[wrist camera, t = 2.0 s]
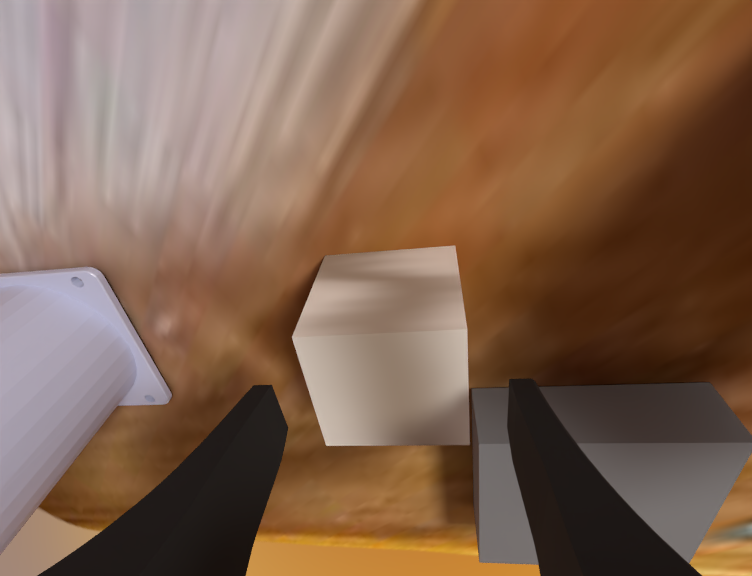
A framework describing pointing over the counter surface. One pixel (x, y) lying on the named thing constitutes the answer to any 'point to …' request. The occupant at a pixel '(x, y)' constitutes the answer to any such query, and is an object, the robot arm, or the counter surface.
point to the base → (616, 459)
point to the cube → (387, 349)
